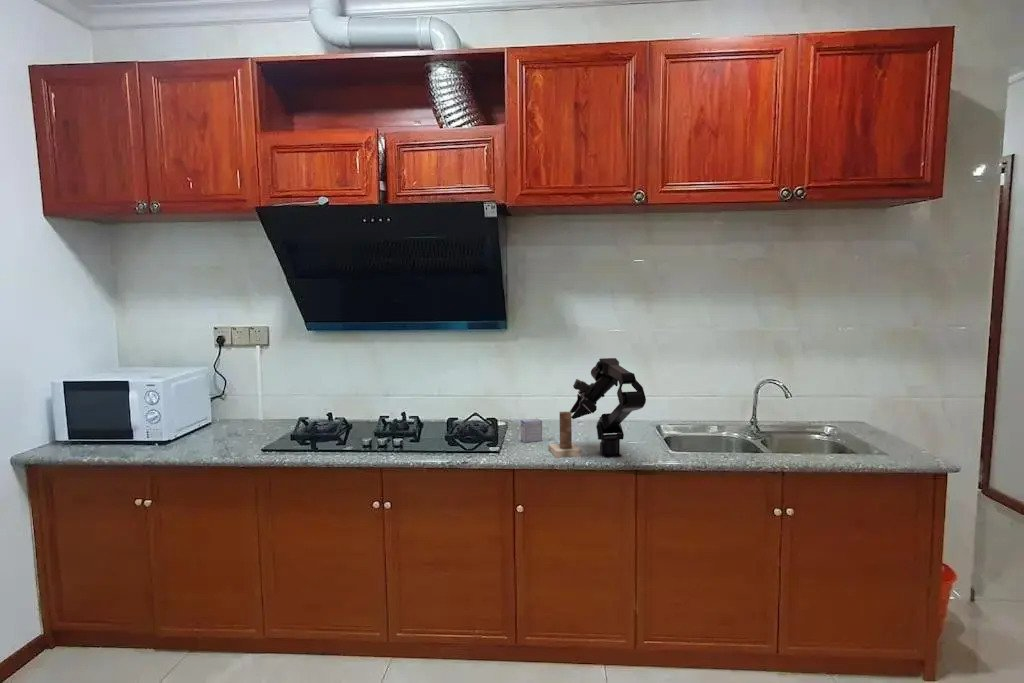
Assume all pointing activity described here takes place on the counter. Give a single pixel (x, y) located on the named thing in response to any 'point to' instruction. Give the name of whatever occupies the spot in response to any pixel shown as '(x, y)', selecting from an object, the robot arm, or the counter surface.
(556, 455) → the birch block
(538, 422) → the medicine box
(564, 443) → the walnut block
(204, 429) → the counter surface
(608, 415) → the robot arm
